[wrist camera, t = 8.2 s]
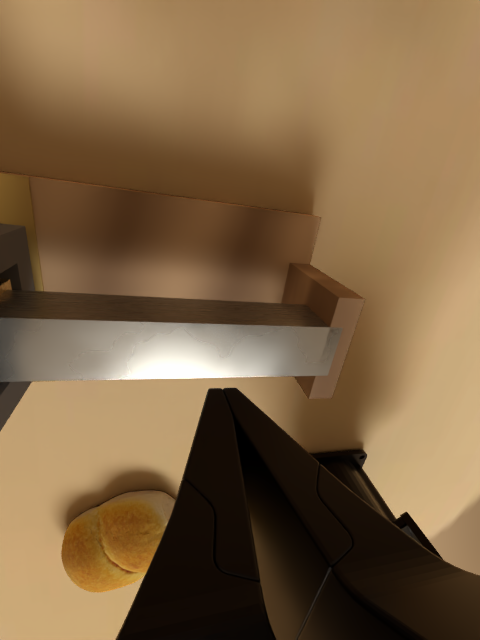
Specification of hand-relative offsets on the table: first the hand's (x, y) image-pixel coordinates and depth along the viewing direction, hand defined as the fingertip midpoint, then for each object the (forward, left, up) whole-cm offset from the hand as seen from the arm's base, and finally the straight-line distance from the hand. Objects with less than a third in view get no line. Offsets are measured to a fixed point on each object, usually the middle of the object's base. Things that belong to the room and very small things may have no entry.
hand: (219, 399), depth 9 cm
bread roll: (+3, +20, -10) cm, 23 cm away
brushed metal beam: (+4, 0, -6) cm, 7 cm away
